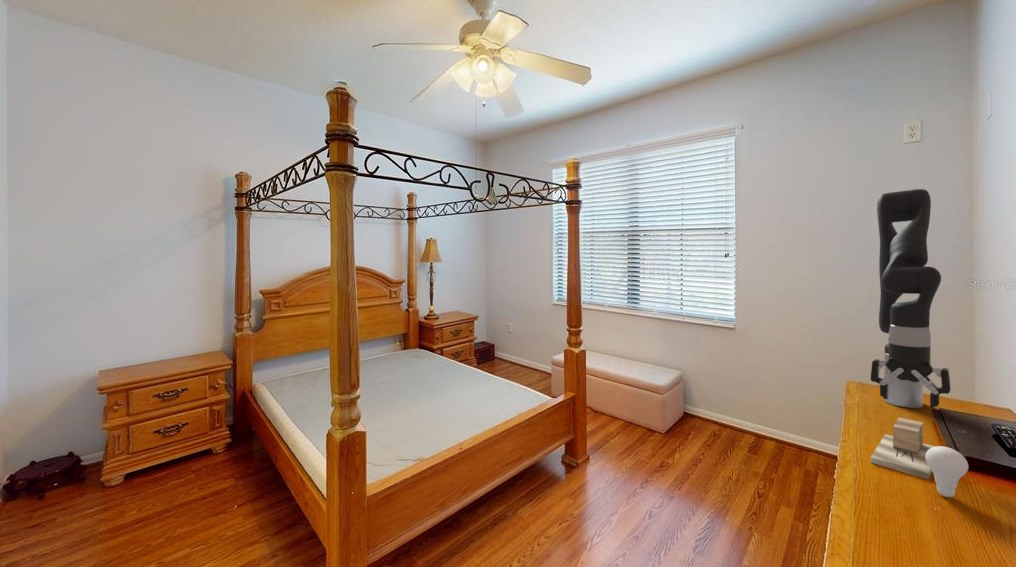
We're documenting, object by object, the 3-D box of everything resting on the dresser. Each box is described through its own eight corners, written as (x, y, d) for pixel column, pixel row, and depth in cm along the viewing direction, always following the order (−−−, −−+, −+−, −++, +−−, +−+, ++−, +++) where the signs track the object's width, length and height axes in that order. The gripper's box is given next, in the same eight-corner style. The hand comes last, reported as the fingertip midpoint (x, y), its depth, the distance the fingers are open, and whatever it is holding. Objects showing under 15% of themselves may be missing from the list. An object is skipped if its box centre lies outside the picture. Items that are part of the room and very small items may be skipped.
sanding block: (898, 438, 104) (898, 417, 104) (922, 444, 101) (922, 422, 100) (892, 448, 100) (893, 426, 99) (917, 454, 96) (918, 431, 96)
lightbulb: (964, 494, 82) (965, 446, 82) (970, 509, 78) (971, 458, 77) (923, 484, 87) (923, 438, 86) (926, 497, 82) (927, 449, 81)
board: (884, 439, 107) (885, 434, 107) (938, 452, 99) (938, 447, 99) (870, 462, 96) (870, 456, 96) (928, 479, 88) (928, 473, 88)
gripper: (952, 344, 95) (951, 406, 96) (874, 336, 106) (874, 392, 107) (949, 349, 90) (948, 414, 91) (868, 341, 102) (868, 399, 103)
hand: (908, 402), depth 99 cm, fingers open, 8 cm apart
